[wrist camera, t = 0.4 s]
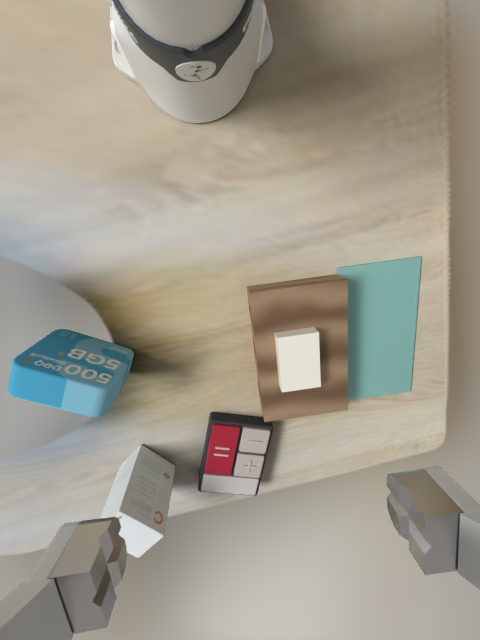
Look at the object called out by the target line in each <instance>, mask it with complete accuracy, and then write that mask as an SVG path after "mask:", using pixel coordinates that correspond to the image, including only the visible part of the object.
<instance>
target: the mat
mask: <svg viewBox="0 0 480 640" xmlns="http://www.w3.org/2000/svg"><path fill="white" fill-rule="evenodd" d="M420 268H421V257H413V258H406V259H399V260H391V261H384V262H377V263H369V264H362V265H355V266H347V267H340V268H337V275H339V276H342V277H344V278H346V279H348V400H355V399H362V398H369V397H376V396H382V395H389V394H396V393H403V392H409V391H411V380H412V367H413V355H414V342H415V330H416V318H417V305H418V293H419V280H420Z"/></svg>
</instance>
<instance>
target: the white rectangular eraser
mask: <svg viewBox="0 0 480 640" xmlns="http://www.w3.org/2000/svg"><path fill="white" fill-rule="evenodd" d="M275 344H276V355H277V366H278V377H279V386H280V389H281V392H289V391H296V390H303V389H310V388H317V387H321V375H320V348H319V332H318V330H317V329H316V328H315V327H312V328H305V329H298V330H291V331H284V332H277V333H275Z"/></svg>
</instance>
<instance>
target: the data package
mask: <svg viewBox="0 0 480 640" xmlns="http://www.w3.org/2000/svg"><path fill="white" fill-rule="evenodd" d="M133 357H134V352H133V351H132V350H131V349H129V348H127V347H123V346H120V345H117V344H113V343H110V342H106V341H103V340H100V339H97V338H93V337H90V336H87V335H83V334H80V333H77V332H73V331H70V330H65V329H59V330H55V331H53V332H52V333H50V334H49V335H47V336H46V337H44V338H43V339H42V340H40V341H39V342H37V343H36V344H35V345H33V346H31V347H30V348H28V349H27V350H26V351H24V352H23V353H21V354H20V355H18V356H17V357H16V358H14V360H13V362H12V369H11V375H10V381H9V387H8V392H9V394H10V395H11V396H13V397H15V398H19V399H23V400H27V401H31V402H35V403H39V404H43V405H47V406H50V407H54V408H58V409H62V410H66V411H70V412H74V413H78V414H82V415H86V416H90V417H100V416H103V415H105V414H106V413H107V412H108V411H109V409H110V407H111V405H112V404H113V402H114V400H115V398H116V397H117V395H118V393H119V391H120V390H121V388H122V386H123V384H124V383H125V381H126V379H127V377H128V374H129V371H130V367H131V364H132V361H133Z"/></svg>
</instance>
